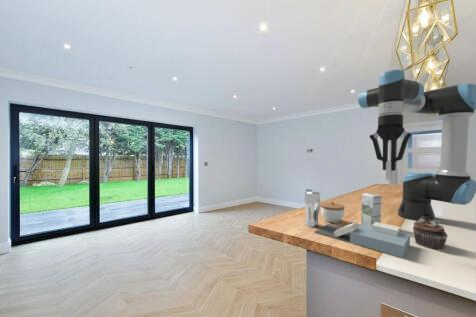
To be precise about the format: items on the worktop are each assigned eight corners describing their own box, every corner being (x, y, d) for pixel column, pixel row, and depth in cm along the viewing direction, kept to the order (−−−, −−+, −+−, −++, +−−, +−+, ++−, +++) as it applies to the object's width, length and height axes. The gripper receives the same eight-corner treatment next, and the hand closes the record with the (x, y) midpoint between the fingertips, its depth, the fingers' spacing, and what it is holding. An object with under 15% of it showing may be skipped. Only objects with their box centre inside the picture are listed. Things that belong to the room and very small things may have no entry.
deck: (361, 233, 91) (361, 223, 91) (409, 245, 80) (410, 234, 80) (349, 242, 81) (350, 232, 81) (403, 258, 70) (403, 246, 70)
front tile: (341, 233, 90) (338, 228, 90) (359, 226, 85) (356, 221, 85) (336, 237, 86) (333, 232, 86) (354, 230, 81) (351, 225, 82)
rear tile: (375, 226, 88) (375, 221, 87) (399, 232, 82) (400, 227, 82) (371, 230, 84) (371, 225, 84) (397, 236, 78) (397, 230, 78)
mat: (328, 224, 101) (328, 223, 101) (361, 233, 91) (361, 232, 91) (314, 232, 91) (314, 231, 91) (349, 242, 81) (349, 241, 81)
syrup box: (381, 226, 100) (382, 194, 99) (371, 228, 98) (373, 195, 97) (369, 222, 105) (370, 192, 104) (360, 223, 103) (361, 193, 102)
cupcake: (414, 246, 79) (415, 219, 79) (411, 237, 88) (412, 212, 87) (450, 253, 74) (451, 224, 74) (443, 243, 82) (445, 217, 82)
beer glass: (304, 226, 98) (305, 193, 97) (303, 221, 105) (304, 190, 104) (320, 228, 96) (321, 194, 96) (318, 223, 103) (319, 191, 102)
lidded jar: (331, 225, 100) (332, 205, 100) (315, 218, 110) (316, 200, 109) (349, 223, 104) (349, 203, 104) (331, 216, 114) (332, 198, 114)
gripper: (367, 116, 82) (366, 178, 83) (411, 111, 72) (409, 182, 74) (372, 117, 87) (371, 176, 88) (414, 113, 78) (412, 179, 79)
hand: (388, 179), depth 81 cm, fingers closed
